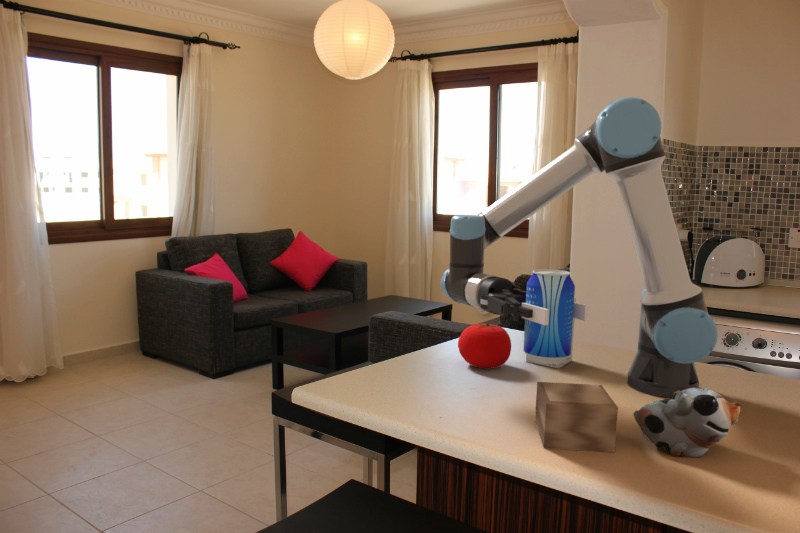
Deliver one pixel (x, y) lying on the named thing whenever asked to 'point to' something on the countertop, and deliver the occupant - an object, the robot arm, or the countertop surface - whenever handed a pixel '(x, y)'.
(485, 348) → the tomato
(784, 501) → the countertop surface
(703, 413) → the lucky cat figurine
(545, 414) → the block
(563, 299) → the beer can
